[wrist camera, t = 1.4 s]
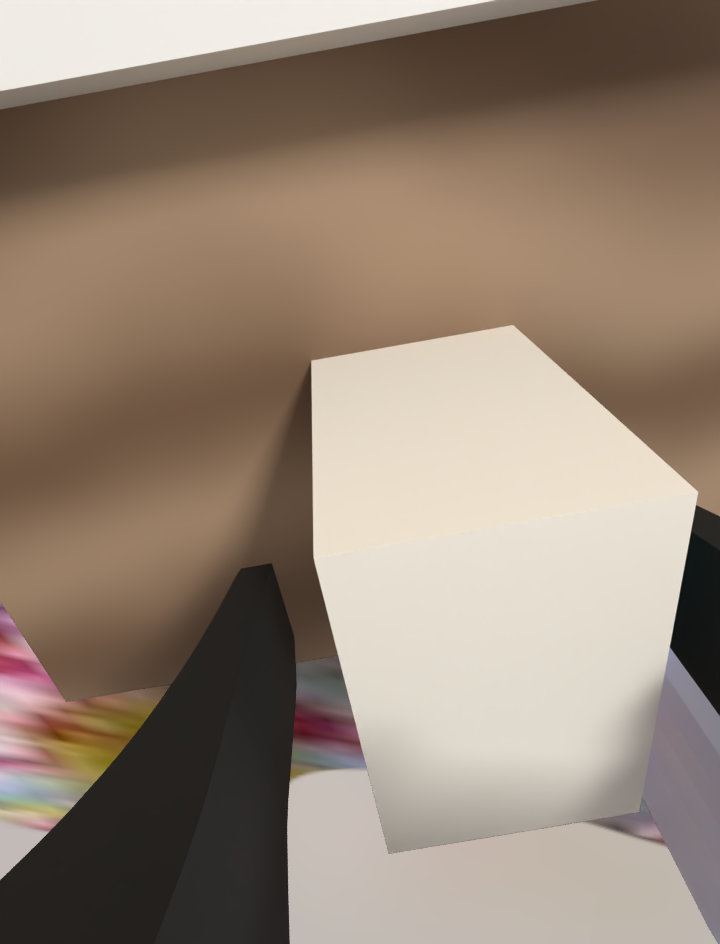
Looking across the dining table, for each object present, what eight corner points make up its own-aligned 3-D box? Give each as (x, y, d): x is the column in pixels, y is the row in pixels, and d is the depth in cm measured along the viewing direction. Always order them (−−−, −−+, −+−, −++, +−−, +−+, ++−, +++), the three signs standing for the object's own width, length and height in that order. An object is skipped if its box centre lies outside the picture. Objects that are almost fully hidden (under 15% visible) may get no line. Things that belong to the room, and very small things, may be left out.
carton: (359, 590, 16) (388, 853, 10) (311, 360, 13) (313, 557, 7) (520, 562, 16) (645, 811, 10) (517, 323, 13) (706, 489, 7)
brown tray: (738, 557, 18) (814, 631, 16) (79, 670, 19) (40, 762, 16) (904, -117, 10) (1122, -211, 8) (-269, 99, 11) (-473, 85, 8)
